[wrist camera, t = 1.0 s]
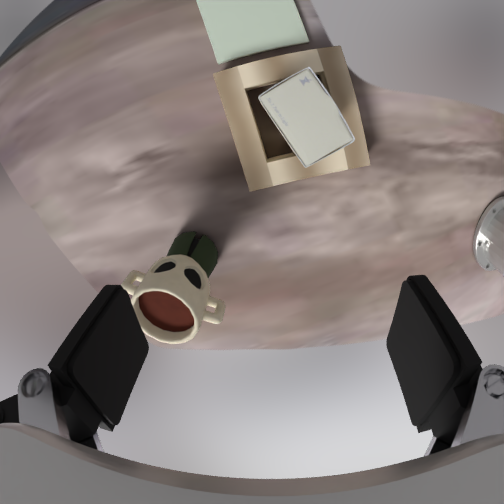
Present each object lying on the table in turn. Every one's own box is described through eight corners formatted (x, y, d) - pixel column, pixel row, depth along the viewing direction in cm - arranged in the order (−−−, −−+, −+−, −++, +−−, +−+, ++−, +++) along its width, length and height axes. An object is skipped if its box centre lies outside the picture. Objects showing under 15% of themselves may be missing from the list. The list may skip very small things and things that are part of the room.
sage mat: (281, -25, 19) (281, -27, 18) (308, 42, 23) (309, 41, 23) (195, -4, 21) (194, -5, 20) (218, 64, 25) (217, 63, 24)
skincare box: (259, 102, 27) (252, 94, 16) (294, 82, 26) (308, 62, 15) (291, 149, 29) (303, 171, 18) (325, 130, 28) (357, 140, 17)
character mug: (243, 242, 35) (229, 309, 23) (227, 286, 38) (210, 358, 27) (161, 214, 34) (112, 268, 22) (153, 260, 37) (111, 323, 26)
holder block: (334, 51, 23) (340, 45, 21) (361, 160, 29) (370, 165, 26) (218, 77, 26) (212, 73, 23) (251, 184, 31) (249, 191, 29)
